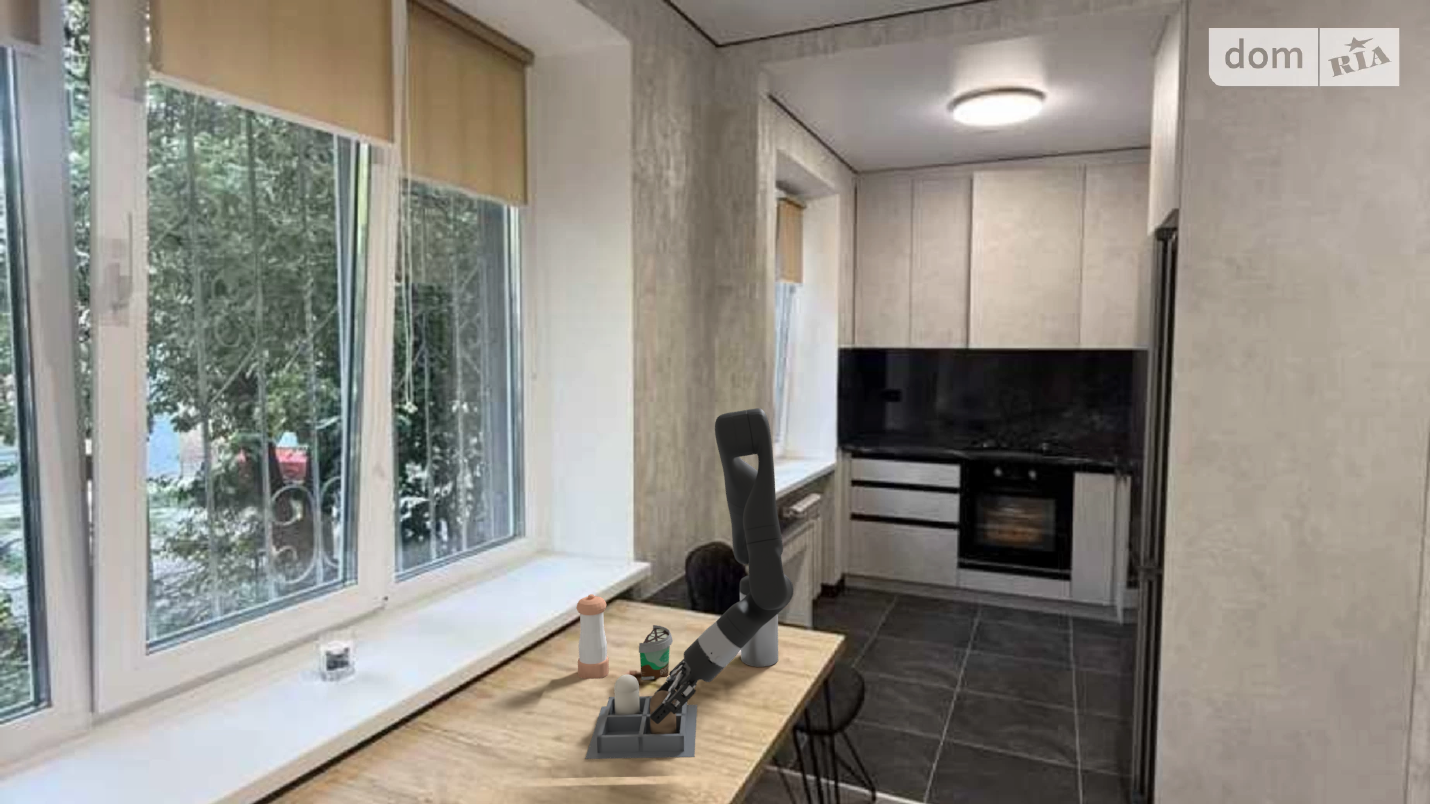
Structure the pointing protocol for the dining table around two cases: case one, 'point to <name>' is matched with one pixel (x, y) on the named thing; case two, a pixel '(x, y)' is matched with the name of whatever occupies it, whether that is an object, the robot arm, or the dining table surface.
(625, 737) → the grey compartment tray
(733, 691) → the dining table surface
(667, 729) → the brown domed cylinder
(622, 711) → the white dome-top cylinder
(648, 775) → the dining table surface
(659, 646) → the food container
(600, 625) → the pepper shaker
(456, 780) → the dining table surface
